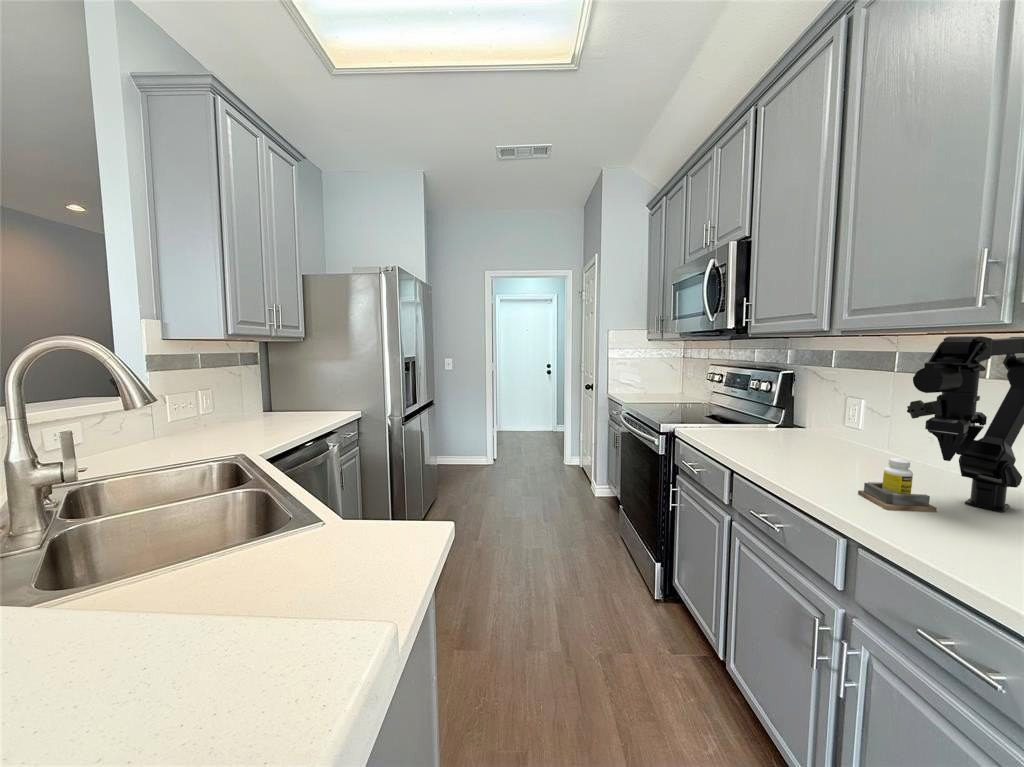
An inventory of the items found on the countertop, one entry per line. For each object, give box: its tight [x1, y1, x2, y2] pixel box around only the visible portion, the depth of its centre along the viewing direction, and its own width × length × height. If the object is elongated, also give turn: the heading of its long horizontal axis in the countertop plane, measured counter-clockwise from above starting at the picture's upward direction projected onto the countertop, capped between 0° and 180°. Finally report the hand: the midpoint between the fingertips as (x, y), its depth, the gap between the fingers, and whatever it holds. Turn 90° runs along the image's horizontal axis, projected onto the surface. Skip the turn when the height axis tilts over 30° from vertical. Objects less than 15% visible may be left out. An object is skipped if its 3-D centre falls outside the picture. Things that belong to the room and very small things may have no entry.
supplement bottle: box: [882, 457, 914, 494], centre depth 108 cm, size 5×5×10 cm
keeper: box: [857, 481, 938, 513], centre depth 108 cm, size 11×11×4 cm
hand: (953, 457), depth 101 cm, fingers open, 9 cm apart
